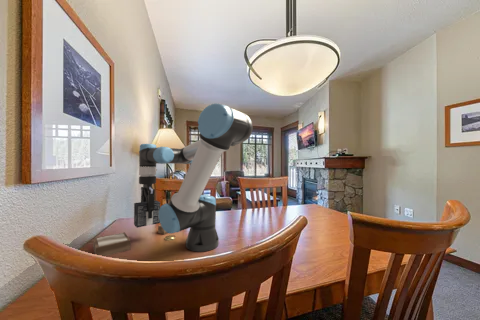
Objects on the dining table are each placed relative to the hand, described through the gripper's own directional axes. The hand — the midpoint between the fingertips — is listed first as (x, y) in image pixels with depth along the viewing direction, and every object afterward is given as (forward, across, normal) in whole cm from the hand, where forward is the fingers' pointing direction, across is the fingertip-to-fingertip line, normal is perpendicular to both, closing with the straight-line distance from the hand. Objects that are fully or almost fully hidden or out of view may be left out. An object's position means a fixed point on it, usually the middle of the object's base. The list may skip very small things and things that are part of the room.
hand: (147, 223), depth 92 cm
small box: (+1, 0, 0) cm, 1 cm away
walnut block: (+9, +6, -11) cm, 15 cm away
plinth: (+8, +1, +14) cm, 17 cm away
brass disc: (+9, -4, -10) cm, 14 cm away
